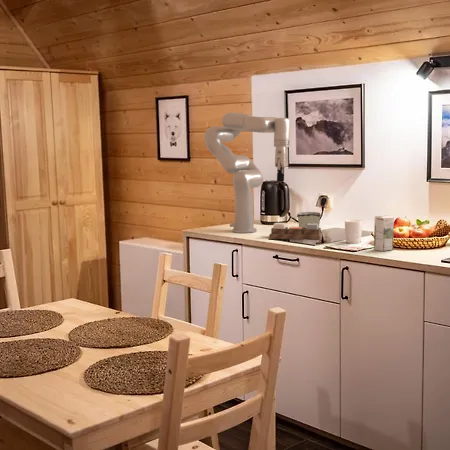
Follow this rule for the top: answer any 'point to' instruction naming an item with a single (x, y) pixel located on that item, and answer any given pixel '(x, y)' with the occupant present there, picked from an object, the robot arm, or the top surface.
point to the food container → (308, 218)
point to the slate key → (312, 226)
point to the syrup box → (383, 233)
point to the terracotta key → (296, 228)
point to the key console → (296, 234)
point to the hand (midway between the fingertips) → (280, 181)
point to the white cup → (353, 231)
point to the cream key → (279, 225)
